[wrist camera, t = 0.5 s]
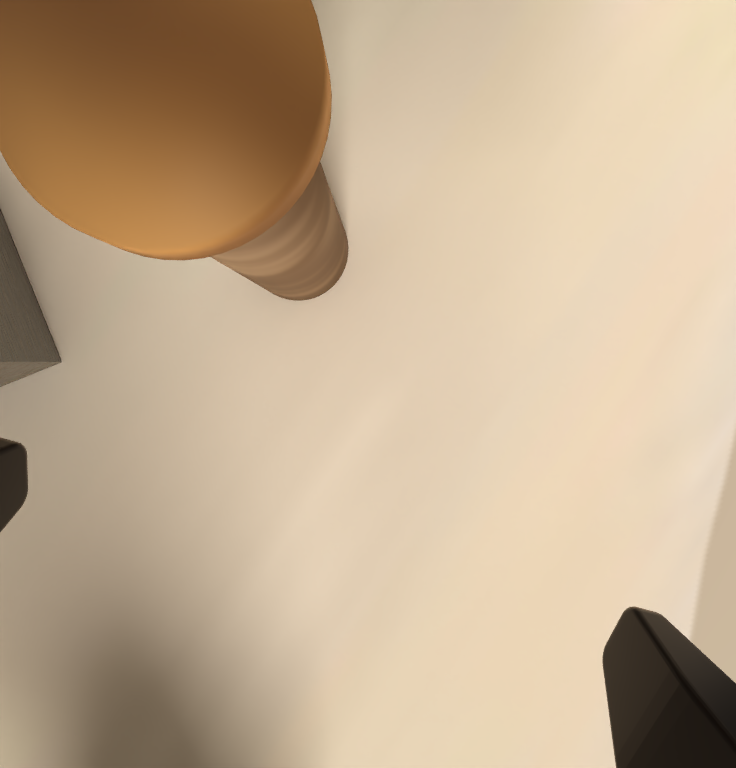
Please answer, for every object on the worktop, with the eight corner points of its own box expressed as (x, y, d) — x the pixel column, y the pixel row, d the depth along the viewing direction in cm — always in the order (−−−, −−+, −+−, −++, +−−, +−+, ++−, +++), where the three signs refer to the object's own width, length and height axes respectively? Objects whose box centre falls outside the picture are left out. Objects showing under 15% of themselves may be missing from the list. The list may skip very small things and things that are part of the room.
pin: (337, 337, 21) (253, 297, 8) (212, 290, 21) (-63, 178, 8) (385, 209, 21) (375, -40, 8) (258, 161, 21) (47, -157, 8)
